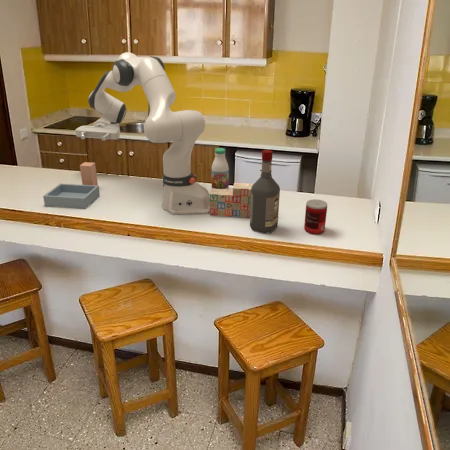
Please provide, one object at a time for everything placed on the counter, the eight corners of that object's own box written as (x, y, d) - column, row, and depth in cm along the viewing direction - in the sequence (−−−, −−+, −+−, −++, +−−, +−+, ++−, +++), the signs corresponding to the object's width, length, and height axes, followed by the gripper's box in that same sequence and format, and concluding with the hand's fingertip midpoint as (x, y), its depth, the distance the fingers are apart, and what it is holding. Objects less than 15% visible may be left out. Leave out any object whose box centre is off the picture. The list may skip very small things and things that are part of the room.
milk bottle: (209, 189, 208) (209, 147, 199) (225, 188, 210) (226, 146, 201) (214, 196, 201) (214, 152, 193) (230, 194, 203) (231, 150, 195)
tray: (99, 195, 201) (98, 185, 199) (85, 208, 188) (84, 198, 186) (61, 192, 203) (60, 183, 201) (44, 206, 190) (43, 196, 188)
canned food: (321, 225, 175) (324, 199, 170) (326, 234, 168) (329, 207, 163) (302, 225, 175) (304, 199, 170) (306, 235, 167) (308, 207, 163)
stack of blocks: (209, 215, 182) (209, 186, 176) (211, 209, 187) (211, 181, 182) (262, 218, 180) (264, 189, 175) (263, 212, 186) (264, 184, 180)
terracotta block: (98, 187, 210) (95, 162, 204) (93, 191, 205) (90, 166, 200) (87, 187, 210) (84, 162, 205) (83, 190, 206) (79, 165, 201)
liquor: (247, 229, 171) (249, 152, 158) (258, 220, 178) (261, 146, 165) (269, 235, 167) (273, 156, 154) (279, 226, 174) (284, 150, 161)
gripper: (80, 120, 219) (69, 130, 207) (122, 123, 218) (113, 133, 206) (82, 133, 222) (71, 143, 210) (123, 136, 221) (114, 146, 209)
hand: (92, 138), depth 208 cm, fingers open, 8 cm apart
